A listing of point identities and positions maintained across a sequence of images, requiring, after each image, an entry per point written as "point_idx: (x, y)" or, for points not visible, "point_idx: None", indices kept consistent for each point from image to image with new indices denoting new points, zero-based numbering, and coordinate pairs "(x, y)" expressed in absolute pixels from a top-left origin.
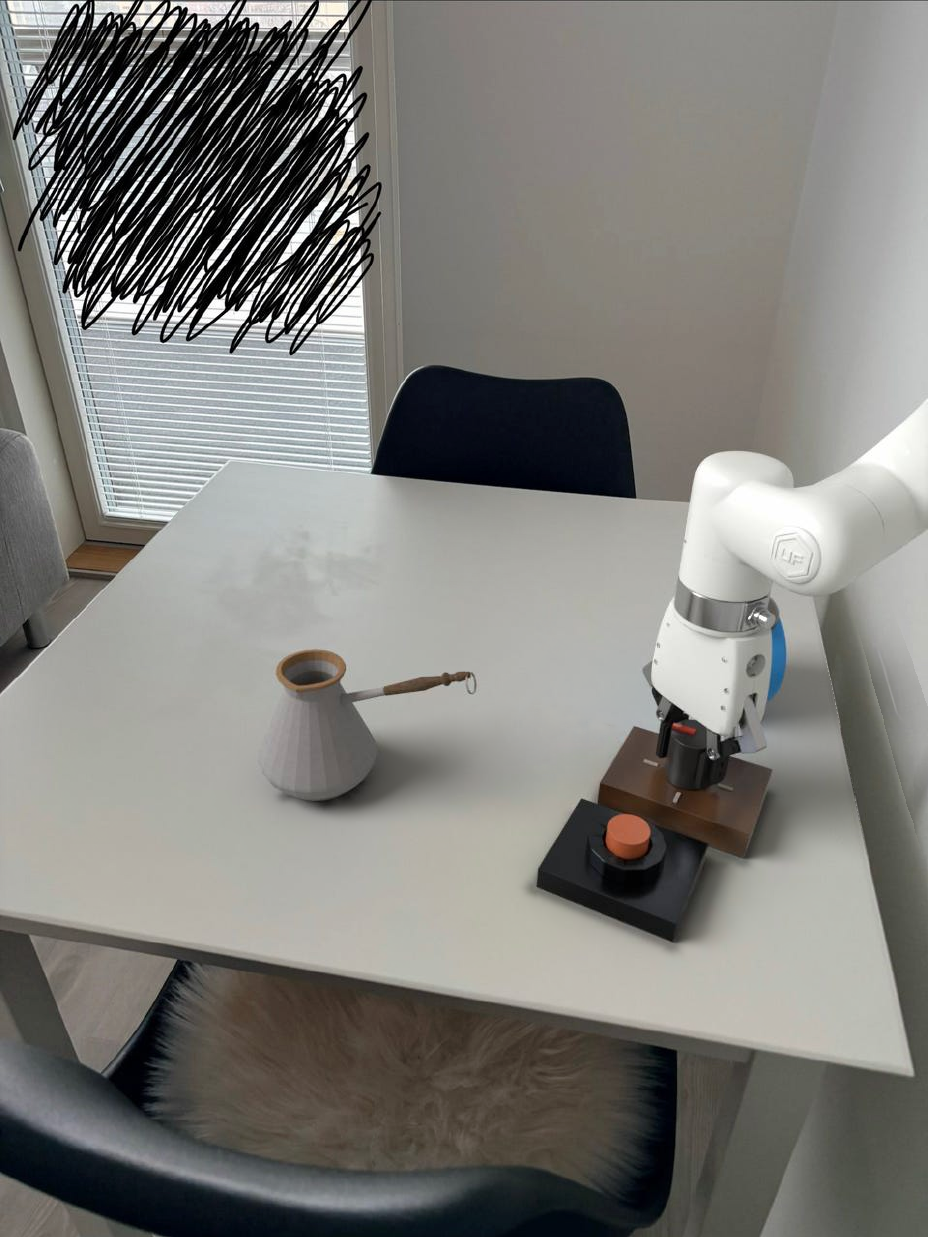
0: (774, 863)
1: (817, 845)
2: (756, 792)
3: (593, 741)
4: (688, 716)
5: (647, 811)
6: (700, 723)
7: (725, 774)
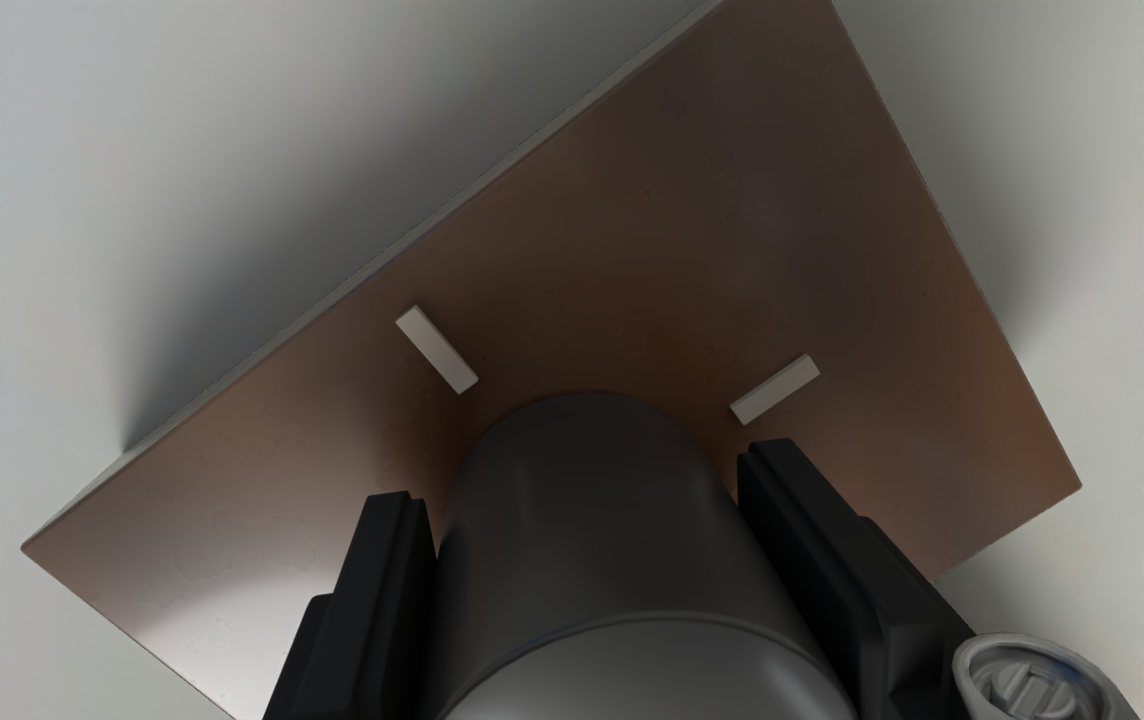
0: (1066, 314)
1: (1132, 35)
2: (904, 241)
3: (11, 590)
4: (350, 709)
5: None
6: (527, 697)
7: (881, 532)
